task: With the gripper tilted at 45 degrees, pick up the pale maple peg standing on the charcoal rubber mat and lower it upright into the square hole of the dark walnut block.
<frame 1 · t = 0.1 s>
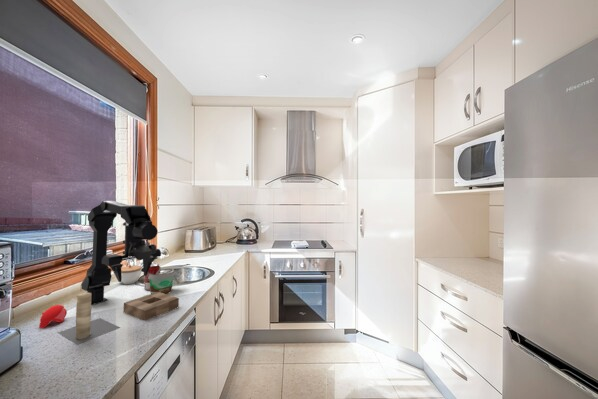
hand: (133, 278, 95), 15 cm above the countertop, tool pointing down, fingers open, 9 cm apart
lidded jar: (129, 282, 134), on the countertop
cap: (52, 324, 88), on the countertop
hole block: (151, 310, 101), on the countertop
mat: (89, 331, 84), on the countertop
peg: (83, 336, 80), resting on mat
food container: (164, 293, 119), on the countertop
soda can: (152, 288, 125), on the countertop
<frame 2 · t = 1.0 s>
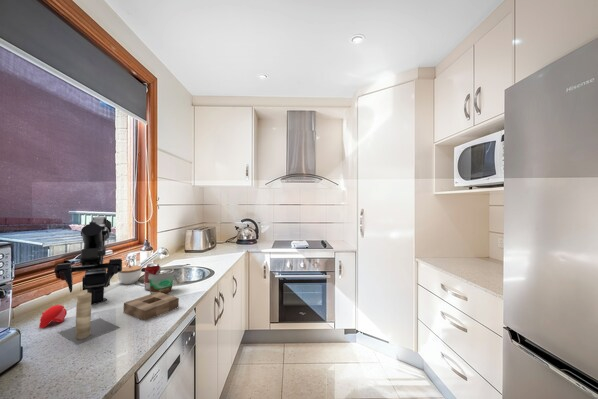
hand: (88, 289, 86), 13 cm above the countertop, tool tilted 45°, fingers open, 9 cm apart
nothing on the countertop moved.
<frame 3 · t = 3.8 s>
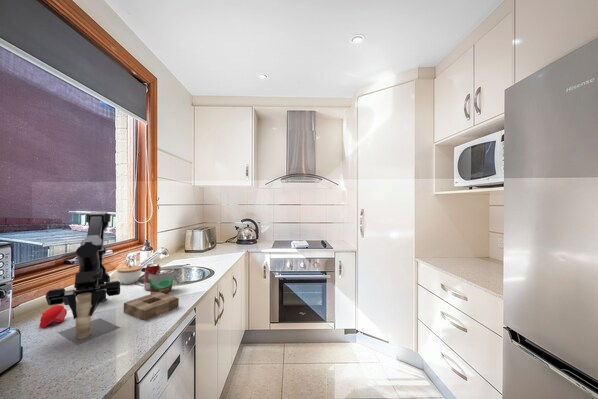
hand: (82, 317, 79), 7 cm above the countertop, tool tilted 45°, fingers closed on peg, 4 cm apart
peg: (83, 336, 80), resting on mat, touching gripper
everything else where it was.
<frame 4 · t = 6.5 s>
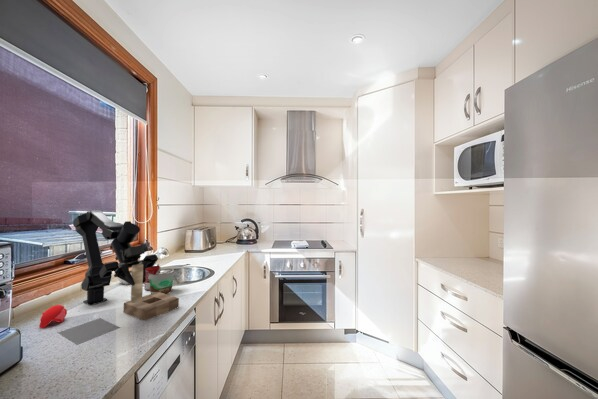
hand: (139, 283, 93), 14 cm above the countertop, tool tilted 45°, fingers closed on peg, 4 cm apart
peg: (136, 300, 93), point 7 cm above the countertop, touching gripper
everything else where it was.
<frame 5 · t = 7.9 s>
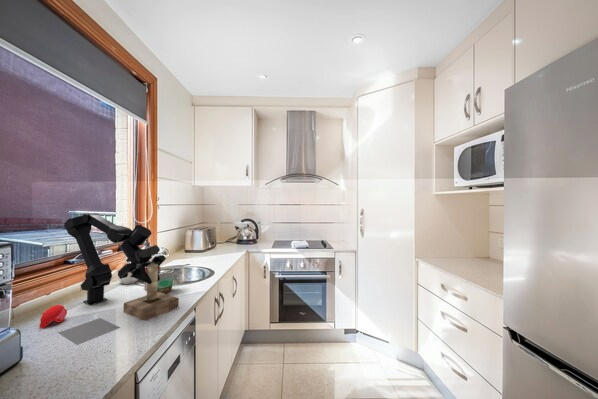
hand: (155, 281, 101), 12 cm above the countertop, tool tilted 45°, fingers closed on peg, 4 cm apart
peg: (151, 298, 101), point 5 cm above the countertop, touching gripper
everything else where it was.
when the fingers open (8 cm above the countertop, at t = 9.0 s): peg stays where it is, resting in hole block.
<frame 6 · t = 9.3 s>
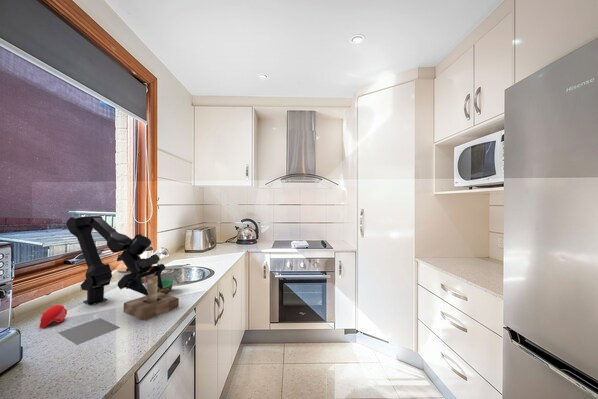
hand: (155, 291, 101), 8 cm above the countertop, tool tilted 45°, fingers open, 7 cm apart
peg: (151, 310, 101), resting in hole block
everything else where it was.
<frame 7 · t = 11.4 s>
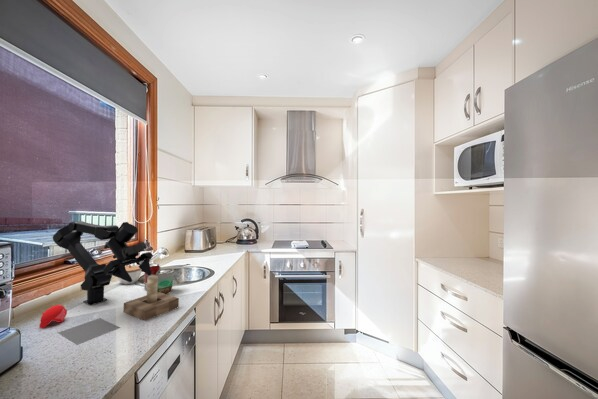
hand: (141, 278, 102), 13 cm above the countertop, tool tilted 45°, fingers open, 9 cm apart
nothing on the countertop moved.
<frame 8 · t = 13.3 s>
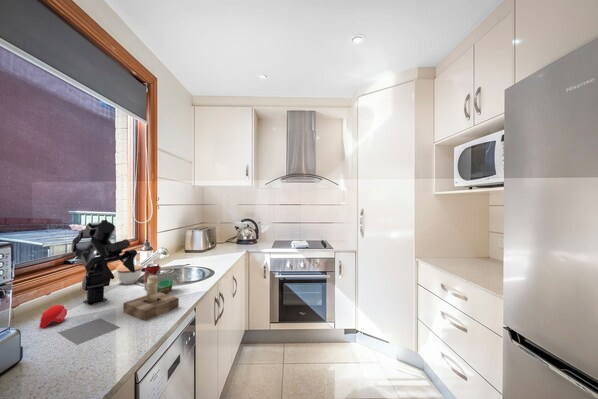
hand: (124, 275, 102), 14 cm above the countertop, tool tilted 45°, fingers open, 9 cm apart
nothing on the countertop moved.
at the end: peg 0.0 cm off-centre on the hole block, point 0.0 cm above the hole block's base; peg tilted 0°; the gripper is holding nothing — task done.
